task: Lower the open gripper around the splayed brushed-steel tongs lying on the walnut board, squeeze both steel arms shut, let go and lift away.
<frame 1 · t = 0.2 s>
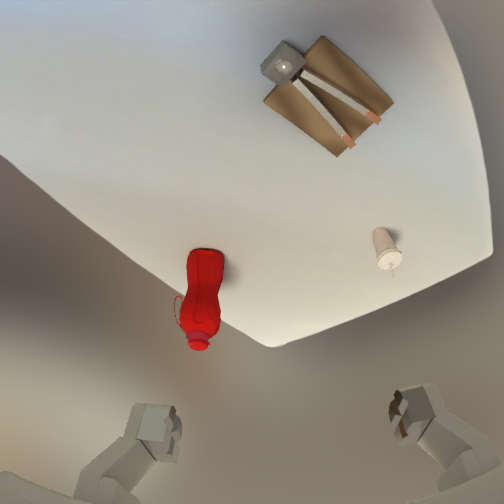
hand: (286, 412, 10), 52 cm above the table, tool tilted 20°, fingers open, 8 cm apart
walnut board: (330, 97, 51), on the table
pivot block: (280, 59, 46), on the table
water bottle: (203, 258, 81), on the table
tongs arm b: (324, 110, 49), point 4 cm above the table, hinge at -9.0°
smoothie: (379, 231, 75), on the table
tongs arm a: (340, 94, 46), point 4 cm above the table, hinge at 9.0°
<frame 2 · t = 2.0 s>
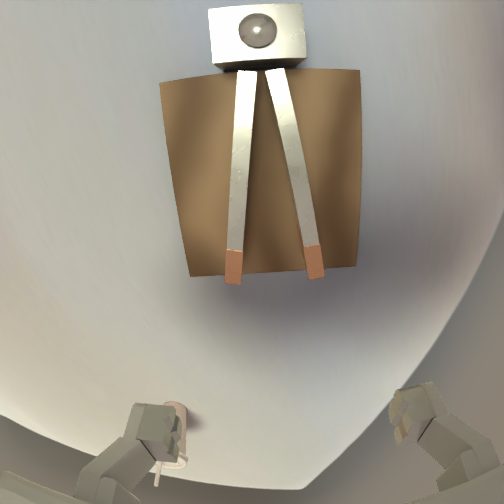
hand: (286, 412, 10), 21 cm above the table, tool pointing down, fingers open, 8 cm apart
walnut board: (267, 174, 27), on the table
pivot block: (257, 45, 22), on the table
tongs arm b: (240, 179, 23), point 4 cm above the table, hinge at -9.0°
smoothie: (175, 407, 44), on the table
tongs arm a: (296, 175, 23), point 4 cm above the table, hinge at 9.0°
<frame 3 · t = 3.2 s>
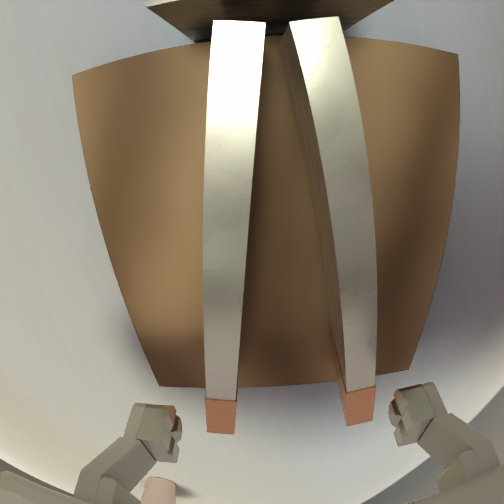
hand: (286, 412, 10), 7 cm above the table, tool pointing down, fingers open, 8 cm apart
walnut board: (281, 240, 15), on the table
tongs arm b: (227, 273, 11), point 4 cm above the table, hinge at -9.0°
smoothie: (162, 480, 32), on the table
tongs arm a: (345, 265, 11), point 4 cm above the table, hinge at 9.0°
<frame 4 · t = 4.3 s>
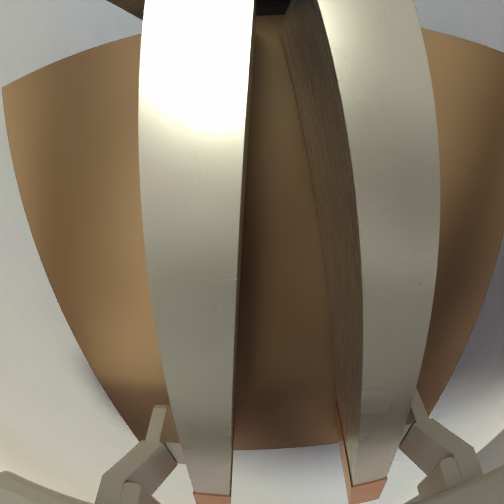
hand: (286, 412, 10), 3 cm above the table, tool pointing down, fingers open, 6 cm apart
walnut board: (280, 298, 11), on the table
tongs arm b: (211, 367, 8), point 4 cm above the table, hinge at -8.1°, touching gripper
tongs arm a: (365, 355, 8), point 4 cm above the table, hinge at 8.3°, touching gripper
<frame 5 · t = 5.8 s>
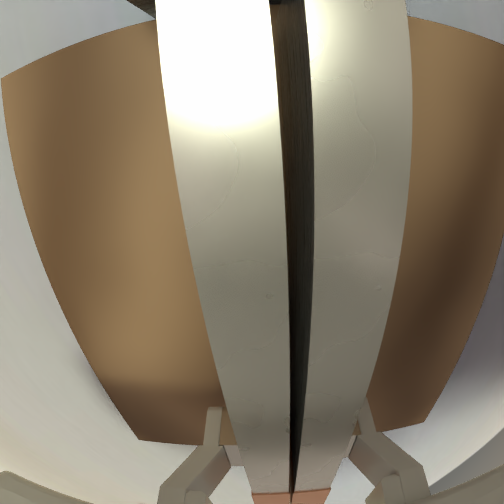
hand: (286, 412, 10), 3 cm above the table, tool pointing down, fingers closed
walnut board: (280, 291, 11), on the table
tongs arm b: (260, 363, 8), point 4 cm above the table, hinge at 0.7°, touching gripper
tongs arm a: (318, 359, 8), point 4 cm above the table, hinge at -0.2°, touching gripper
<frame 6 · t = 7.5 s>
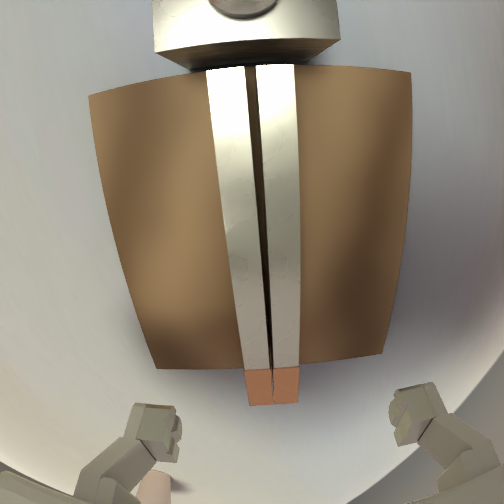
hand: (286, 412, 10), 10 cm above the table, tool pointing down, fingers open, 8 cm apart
walnut board: (261, 234, 18), on the table
pivot block: (245, 27, 13), on the table
tongs arm b: (247, 260, 14), point 4 cm above the table, hinge at 0.7°
smoothie: (157, 474, 34), on the table
tongs arm a: (280, 257, 14), point 4 cm above the table, hinge at -0.2°
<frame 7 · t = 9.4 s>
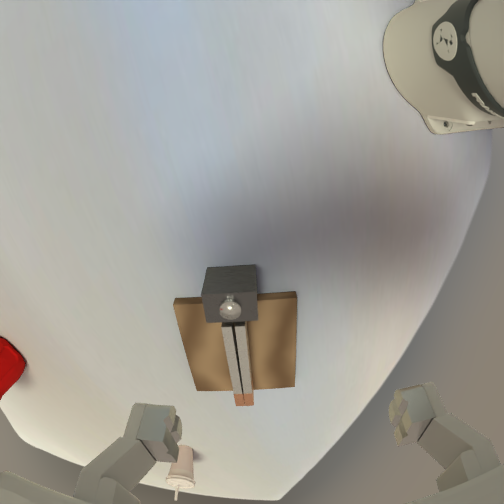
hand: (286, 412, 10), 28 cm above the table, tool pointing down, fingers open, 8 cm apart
walnut board: (240, 345, 45), on the table
pivot block: (232, 279, 40), on the table
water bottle: (6, 349, 48), on the table
tongs arm b: (234, 361, 42), point 4 cm above the table, hinge at 0.7°
smoothie: (184, 448, 61), on the table
tongs arm a: (245, 360, 42), point 4 cm above the table, hinge at -0.2°
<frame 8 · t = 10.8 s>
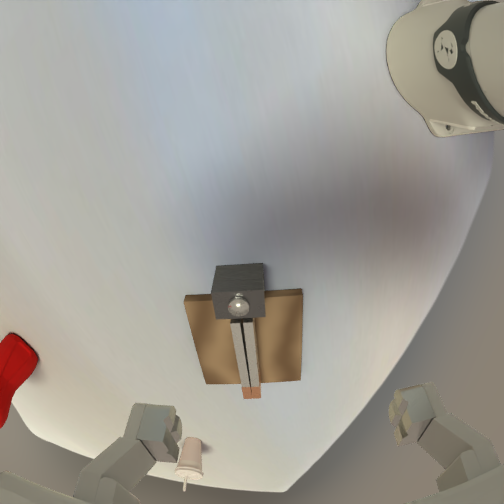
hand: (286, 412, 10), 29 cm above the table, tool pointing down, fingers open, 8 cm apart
walnut board: (248, 340, 47), on the table
pivot block: (240, 277, 42), on the table
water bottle: (19, 345, 52), on the table
tongs arm b: (242, 355, 44), point 4 cm above the table, hinge at 0.7°
smoothie: (193, 440, 64), on the table
tongs arm a: (253, 355, 44), point 4 cm above the table, hinge at -0.2°
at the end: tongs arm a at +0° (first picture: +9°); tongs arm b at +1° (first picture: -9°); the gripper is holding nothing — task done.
